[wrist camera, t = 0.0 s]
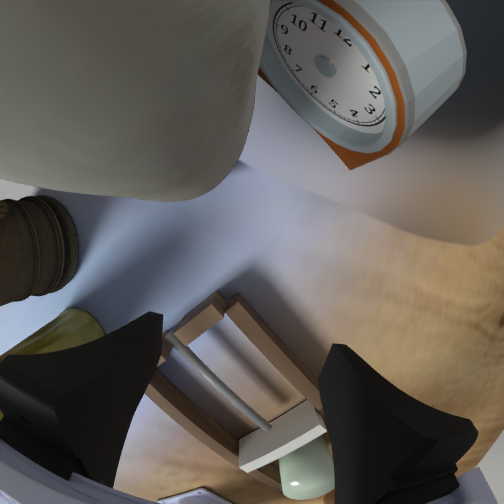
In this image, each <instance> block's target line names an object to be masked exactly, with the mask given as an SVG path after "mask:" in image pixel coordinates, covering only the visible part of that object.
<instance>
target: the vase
mask: <svg viewBox="0 0 504 504" xmlns="http://www.w3.org/2000/svg"><path fill="white" fill-rule="evenodd" d="M103 336H105V334H104V331H103V329H102V328H101V326H100V325H99V323H98V322H97V321H96V320H95V319H94V318H93V317H92V316H91V315H90V314H88V313H87V312H85V311H83V310H80V309H74V308H70V309H67V310H65V311H63V312H62V313H61V314H60V315H59V316H58V317H56V318H55V319H54V320H52V321H51V322H49V323H48V324H46V325H45V326H43V327H42V328H40V329H39V330H38V331H36V332H35V333H33V334H32V335H30V336H29V337H27V338H26V339H24V340H23V341H21V342H20V343H19V344H17V345H16V346H14V347H13V348H11V349H10V350H8V351H7V352H5V353H4V354H2V355H1V356H0V362H1V361H2V360H3V359H4V358H5V357H6V356H7V355H28V354H41V353H49V352H55V351H60V350H64V349H68V348H72V347H76V346H79V345H82V344H85V343H88V342H91V341H94V340H96V339H99V338H101V337H103ZM3 416H4V415H3V414H2V412H1V410H0V420H1V419H2V418H3Z"/></svg>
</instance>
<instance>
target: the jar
mask: <svg viewBox="0 0 504 504" xmlns="http://www.w3.org/2000/svg"><path fill="white" fill-rule="evenodd" d="M323 500H324V504H334V502H335V489H333V490H332V491H330V492H329V493H327V494H326V495H325V496H324V498H323Z"/></svg>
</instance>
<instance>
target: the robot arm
mask: <svg viewBox="0 0 504 504" xmlns="http://www.w3.org/2000/svg"><path fill="white" fill-rule="evenodd" d="M162 329H163V315H162V314H158V313H154V312H150V311H149V312H147V313H146V314H144V315H142V316H140V317H139V318H137V319H135V320H134V321H132V322H130V323H128V324H126V325H125V326H123V327H121V328H119V329H117V330H115V331H113V332H111V333H109V334H107V335H105V336H103V337H101V338H99V339H96V340H94V341H91V342H88V343H85V344H82V345H79V346H76V347H72V348H68V349H64V350H60V351H55V352H49V353H41V354H28V355H7V356H6V357H5V358H4V359H3V360H2V361H1V362H0V410H1V412H2V414H3V415H4V416H3V418H2V419H1V420H0V497H2V498H3V499H4V500H6V501H7V502H8V503H10V504H232V503H230V502H228V501H226V500H225V499H223V498H221V497H219V496H217V495H215V494H214V493H212V492H210V491H208V490H207V489H205V488H199V489H196V490H193V491H190V492H186V493H183V494H180V495H176V496H172V497H169V498H165V499H161V500H157V501H156V502H153V501H149V500H146V499H142V498H139V497H136V496H133V495H130V494H127V493H124V492H121V491H118V490H115V489H113V485H114V481H115V476H116V472H117V468H118V464H119V460H120V456H121V452H122V449H123V446H124V442H125V439H126V436H127V433H128V430H129V427H130V424H131V421H132V418H133V416H134V413H135V411H136V409H137V407H138V405H139V403H140V401H141V399H142V397H143V395H144V393H145V391H146V389H147V387H148V385H149V383H150V381H151V379H152V377H153V375H154V373H155V371H156V368H157V365H158V362H159V359H160V357H161V354H162ZM318 382H319V392H320V399H321V403H322V407H323V411H324V415H325V419H326V423H327V427H328V431H329V434H330V439H331V444H332V452H333V462H334V478H335V502H334V504H498V503H497V501H496V498H495V497H494V495H493V493H492V491H491V489H490V487H489V485H488V483H487V481H486V479H485V477H484V475H483V473H482V472H481V470H480V468H479V467H477V468H475V469H472V470H470V471H468V472H466V473H464V474H462V475H460V476H458V477H457V478H456V476H455V474H454V473H455V472H456V471H457V470H458V468H457V466H456V464H455V463H456V462H457V461H458V460H459V459H460V458H461V457H462V456H463V455H464V454H465V453H466V452H467V451H468V450H469V449H470V448H471V447H472V445H473V444H474V443H475V441H476V439H477V436H478V431H477V429H476V428H475V426H474V425H473V423H472V422H471V420H469V419H466V418H462V417H458V416H455V415H451V414H448V413H445V412H442V411H440V410H437V409H435V408H432V407H430V406H428V405H426V404H424V403H422V402H420V401H418V400H416V399H414V398H413V397H411V396H409V395H408V394H406V393H405V392H403V391H401V390H400V389H398V388H397V387H396V386H394V385H393V384H391V383H390V382H389V381H388V380H386V379H385V378H384V377H382V376H381V375H380V374H379V373H378V372H377V371H375V370H374V369H373V368H372V367H371V366H370V365H369V364H367V363H366V362H365V361H364V360H363V359H362V358H361V357H360V356H359V355H357V354H356V353H355V352H354V351H353V350H352V349H351V348H349V347H348V346H347V345H344V344H334V343H333V344H332V347H331V349H330V352H329V354H328V357H327V359H326V361H325V364H324V366H323V369H322V371H321V373H320V376H319V378H318Z"/></svg>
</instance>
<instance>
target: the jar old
mask: <svg viewBox="0 0 504 504" xmlns="http://www.w3.org/2000/svg"><path fill="white" fill-rule="evenodd" d="M278 461H279V468H280V476H281V483H282V490H283V494H284V495H285V496H287V497H288V498H291V499H296V500H307V499H313V498H317V497H320V496H322V495H325V494H327V493H329V492H330V491H332V490H333V489H334V488H335V478H334V462H333V459H332V456H331V453H330V450H329V447H328V445H327V442H326V439H325V436H324V433H323V434H322V435H320V436H318V437H317V438H315V439H313V440H312V441H310V442H308V443H306V444H305V445H303V446H301V447H299V448H297V449H296V450H294V451H292V452H290V453H288V454H286V455H284V456H282V457H280V458H278Z"/></svg>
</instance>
